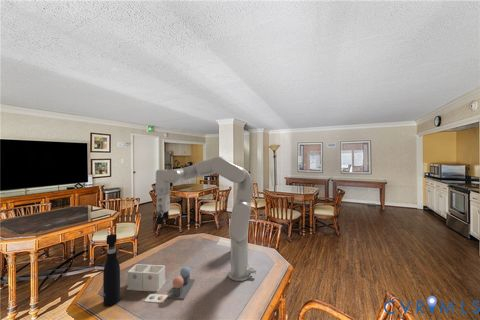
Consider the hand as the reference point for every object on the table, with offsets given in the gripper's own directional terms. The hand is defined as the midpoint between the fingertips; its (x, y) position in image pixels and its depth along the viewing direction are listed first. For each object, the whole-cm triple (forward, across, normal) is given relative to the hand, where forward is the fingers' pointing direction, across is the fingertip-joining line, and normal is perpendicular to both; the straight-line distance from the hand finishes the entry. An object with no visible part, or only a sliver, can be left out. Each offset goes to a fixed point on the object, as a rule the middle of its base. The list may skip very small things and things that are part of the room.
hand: (163, 221), depth 116 cm
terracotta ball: (+26, -20, -13) cm, 35 cm away
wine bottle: (+30, -22, +16) cm, 40 cm away
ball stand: (+29, -15, -14) cm, 36 cm away
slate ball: (+26, -11, -14) cm, 31 cm away
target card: (+29, -22, -3) cm, 37 cm away
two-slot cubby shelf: (+29, -11, +5) cm, 32 cm away
